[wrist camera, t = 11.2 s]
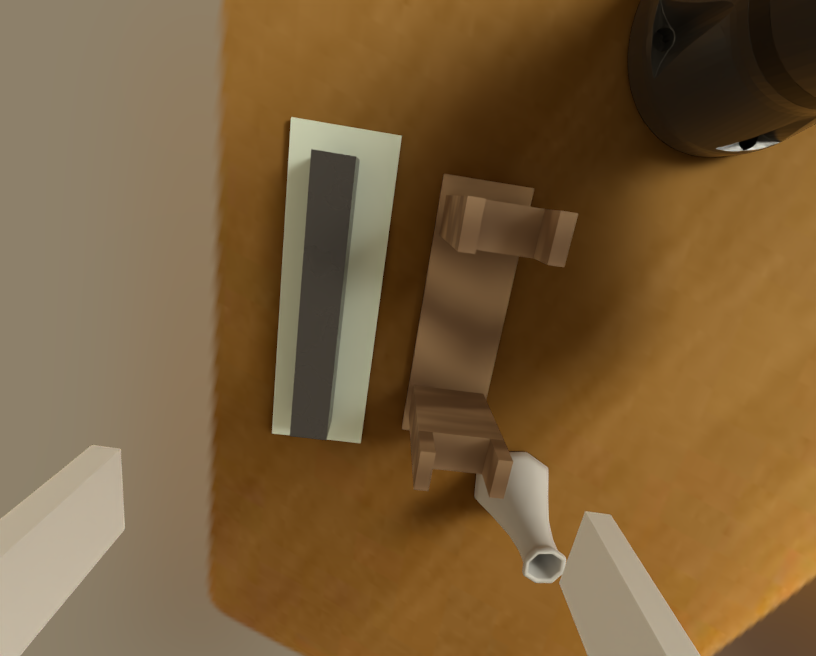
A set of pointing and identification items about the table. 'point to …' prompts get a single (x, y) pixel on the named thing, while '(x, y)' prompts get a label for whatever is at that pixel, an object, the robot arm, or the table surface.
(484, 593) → the table surface
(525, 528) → the flask
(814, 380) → the table surface
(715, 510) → the table surface
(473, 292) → the rack
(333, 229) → the rail
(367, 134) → the mat
